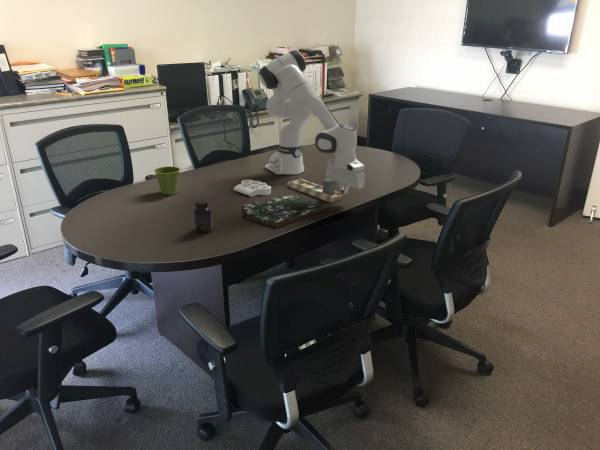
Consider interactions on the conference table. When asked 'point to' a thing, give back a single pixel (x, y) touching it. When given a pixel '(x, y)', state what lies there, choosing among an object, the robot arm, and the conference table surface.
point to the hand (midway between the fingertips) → (343, 192)
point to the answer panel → (314, 190)
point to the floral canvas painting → (281, 210)
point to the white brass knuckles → (253, 188)
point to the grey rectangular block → (328, 186)
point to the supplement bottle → (202, 217)
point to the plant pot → (168, 179)
